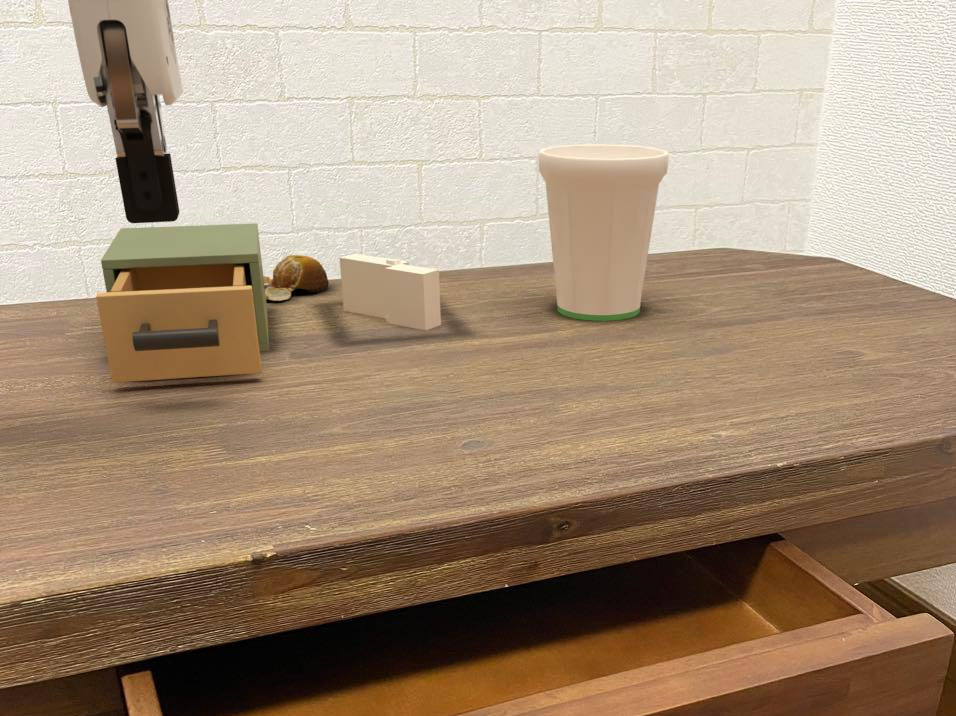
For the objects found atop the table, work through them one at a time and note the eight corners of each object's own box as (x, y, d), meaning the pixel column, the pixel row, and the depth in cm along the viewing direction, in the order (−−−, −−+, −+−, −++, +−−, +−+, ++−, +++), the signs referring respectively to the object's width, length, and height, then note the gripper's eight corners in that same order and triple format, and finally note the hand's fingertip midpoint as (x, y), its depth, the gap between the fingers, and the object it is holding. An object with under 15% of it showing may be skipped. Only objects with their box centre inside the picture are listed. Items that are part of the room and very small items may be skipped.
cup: (684, 317, 103) (696, 154, 97) (577, 333, 98) (581, 162, 91) (616, 291, 113) (622, 141, 106) (515, 304, 108) (515, 147, 101)
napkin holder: (321, 306, 107) (316, 249, 104) (429, 298, 110) (427, 243, 107) (344, 345, 94) (339, 281, 91) (466, 335, 97) (464, 273, 95)
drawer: (262, 391, 80) (251, 303, 77) (104, 402, 77) (87, 311, 74) (260, 329, 95) (251, 253, 92) (129, 336, 93) (116, 259, 90)
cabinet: (269, 351, 92) (257, 253, 88) (118, 361, 89) (100, 259, 86) (267, 310, 105) (257, 223, 101) (135, 318, 102) (120, 228, 98)
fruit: (239, 289, 113) (235, 255, 111) (310, 279, 117) (307, 246, 115) (269, 305, 107) (265, 269, 105) (343, 294, 111) (340, 259, 109)
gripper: (156, -122, 54) (209, 238, 62) (174, -96, 67) (216, 200, 75) (0, -125, 53) (76, 245, 61) (50, -98, 65) (107, 204, 74)
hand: (154, 219), depth 68 cm, fingers closed
